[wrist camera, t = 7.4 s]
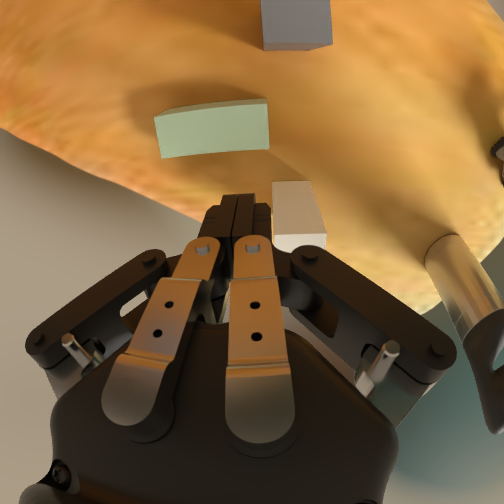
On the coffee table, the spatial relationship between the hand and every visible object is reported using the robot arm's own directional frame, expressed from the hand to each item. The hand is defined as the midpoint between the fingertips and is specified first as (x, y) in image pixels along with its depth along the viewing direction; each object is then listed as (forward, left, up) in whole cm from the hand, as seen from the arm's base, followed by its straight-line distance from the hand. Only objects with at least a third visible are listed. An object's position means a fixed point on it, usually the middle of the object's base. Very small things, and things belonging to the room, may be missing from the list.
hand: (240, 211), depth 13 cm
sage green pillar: (-1, -1, -20) cm, 20 cm away
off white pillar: (-11, +3, -22) cm, 25 cm away
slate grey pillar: (+6, -10, -22) cm, 25 cm away
